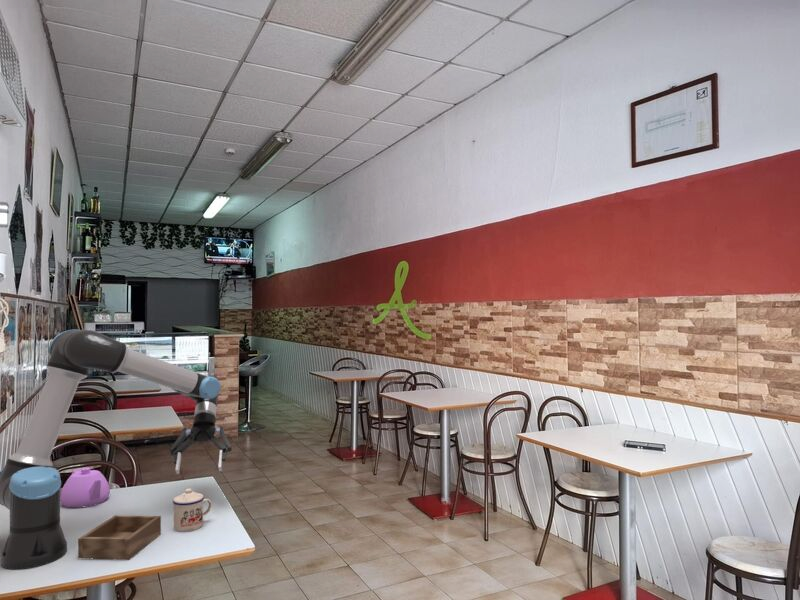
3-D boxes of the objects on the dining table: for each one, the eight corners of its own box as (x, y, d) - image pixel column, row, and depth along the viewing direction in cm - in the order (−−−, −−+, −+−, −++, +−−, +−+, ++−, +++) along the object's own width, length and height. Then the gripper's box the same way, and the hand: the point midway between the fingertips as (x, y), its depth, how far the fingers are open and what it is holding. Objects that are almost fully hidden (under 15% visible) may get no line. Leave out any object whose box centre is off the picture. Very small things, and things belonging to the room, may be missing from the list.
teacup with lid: (179, 534, 166) (179, 496, 166) (168, 526, 173) (168, 489, 173) (217, 524, 174) (217, 487, 174) (205, 516, 181) (205, 481, 181)
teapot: (49, 501, 198) (49, 467, 198) (95, 490, 210) (95, 458, 210) (74, 514, 184) (74, 478, 184) (121, 502, 196) (121, 468, 197)
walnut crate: (78, 558, 150) (78, 538, 150) (114, 533, 167) (114, 515, 167) (129, 559, 149) (129, 539, 149) (160, 534, 166) (160, 515, 167)
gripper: (241, 421, 204) (237, 473, 189) (169, 425, 199) (160, 478, 184) (240, 409, 199) (236, 462, 184) (166, 412, 194) (157, 467, 179)
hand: (198, 470), depth 184 cm, fingers open, 13 cm apart
